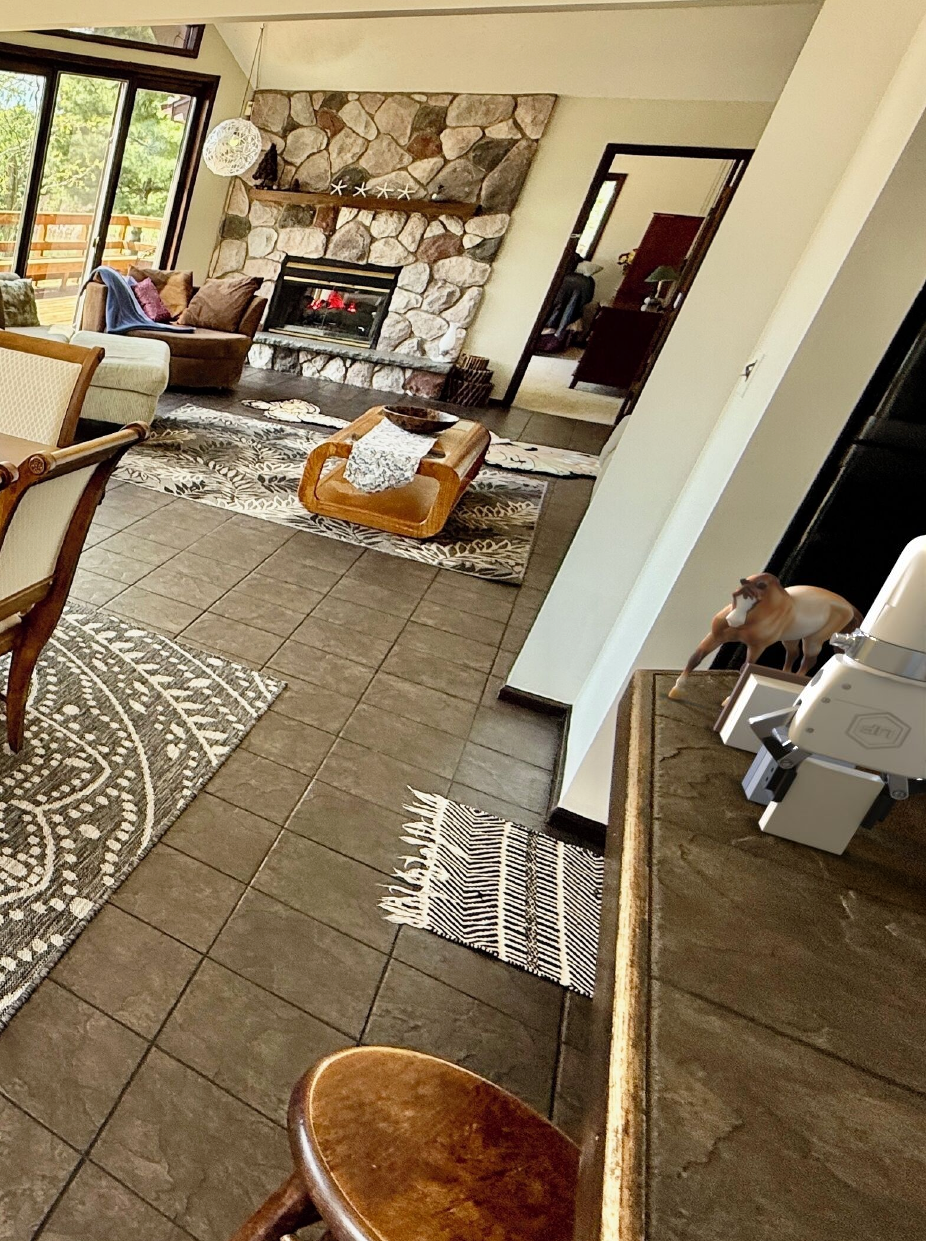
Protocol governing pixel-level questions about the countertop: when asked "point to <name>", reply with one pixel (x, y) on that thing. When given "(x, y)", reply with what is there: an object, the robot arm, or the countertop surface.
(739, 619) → the horse figurine
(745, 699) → the white books
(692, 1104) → the countertop surface
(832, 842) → the white book
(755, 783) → the grey books
